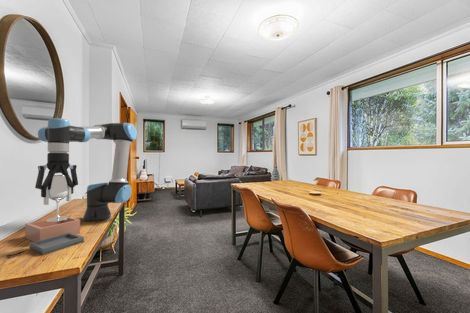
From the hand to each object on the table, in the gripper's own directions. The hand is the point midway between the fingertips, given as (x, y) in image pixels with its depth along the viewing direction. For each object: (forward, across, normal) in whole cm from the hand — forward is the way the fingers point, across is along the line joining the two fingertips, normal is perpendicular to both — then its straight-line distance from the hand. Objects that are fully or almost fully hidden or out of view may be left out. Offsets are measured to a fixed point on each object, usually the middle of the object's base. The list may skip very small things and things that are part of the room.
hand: (57, 202), depth 94 cm
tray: (+19, 0, 0) cm, 19 cm away
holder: (+19, -5, -17) cm, 26 cm away
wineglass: (+8, 0, 0) cm, 8 cm away
